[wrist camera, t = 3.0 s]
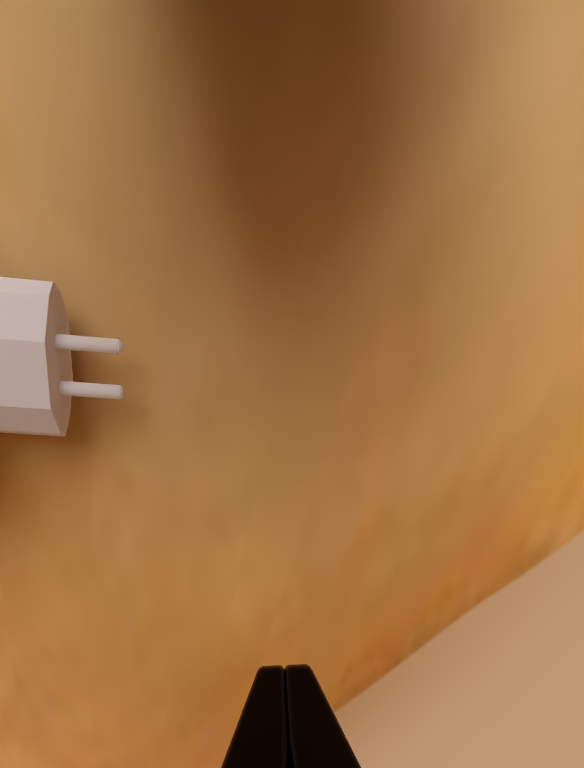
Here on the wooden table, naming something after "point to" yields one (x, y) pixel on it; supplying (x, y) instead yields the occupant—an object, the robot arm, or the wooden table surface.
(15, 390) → the charger
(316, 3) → the wooden table surface
